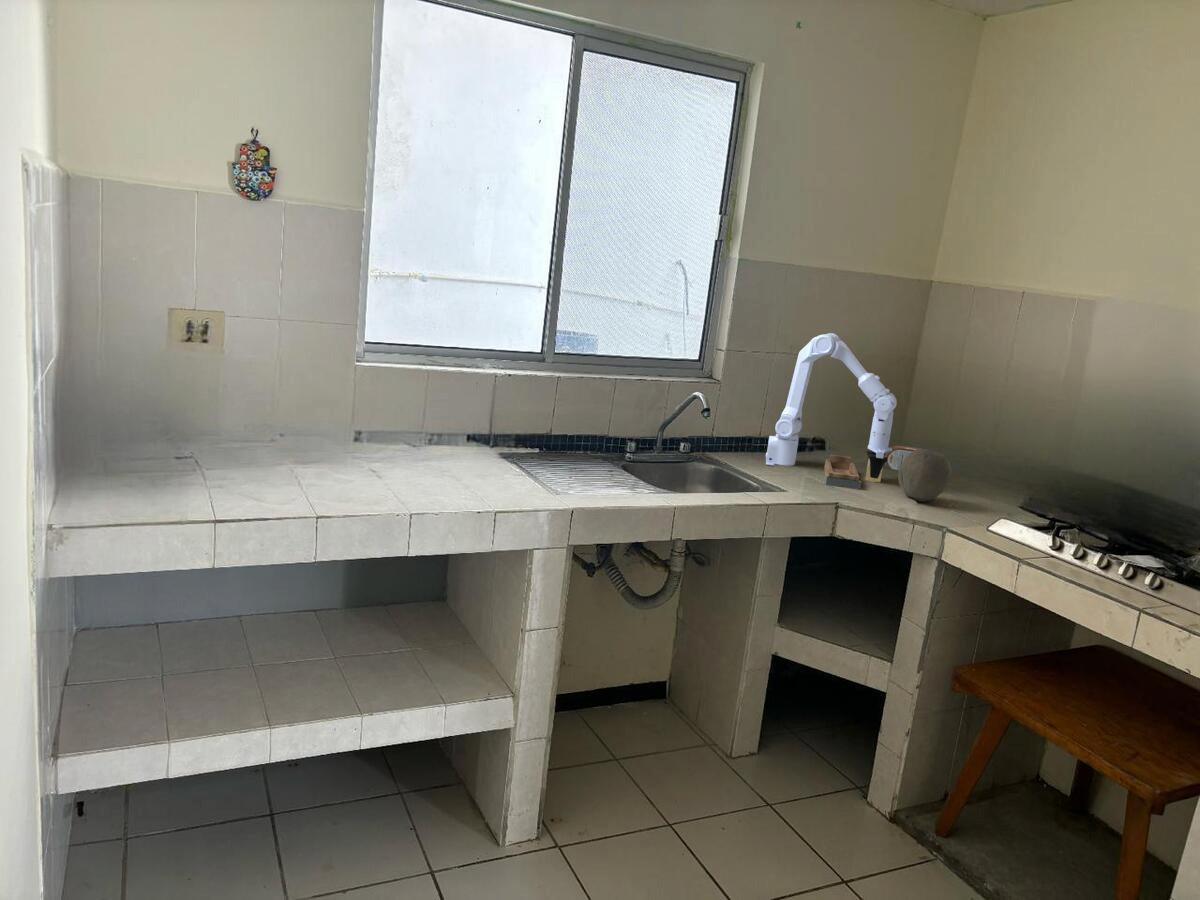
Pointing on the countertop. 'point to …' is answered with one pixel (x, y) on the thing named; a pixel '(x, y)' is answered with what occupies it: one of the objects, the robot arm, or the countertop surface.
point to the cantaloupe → (924, 474)
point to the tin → (897, 456)
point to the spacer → (869, 474)
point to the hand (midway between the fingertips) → (873, 476)
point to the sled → (840, 467)
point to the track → (843, 482)
